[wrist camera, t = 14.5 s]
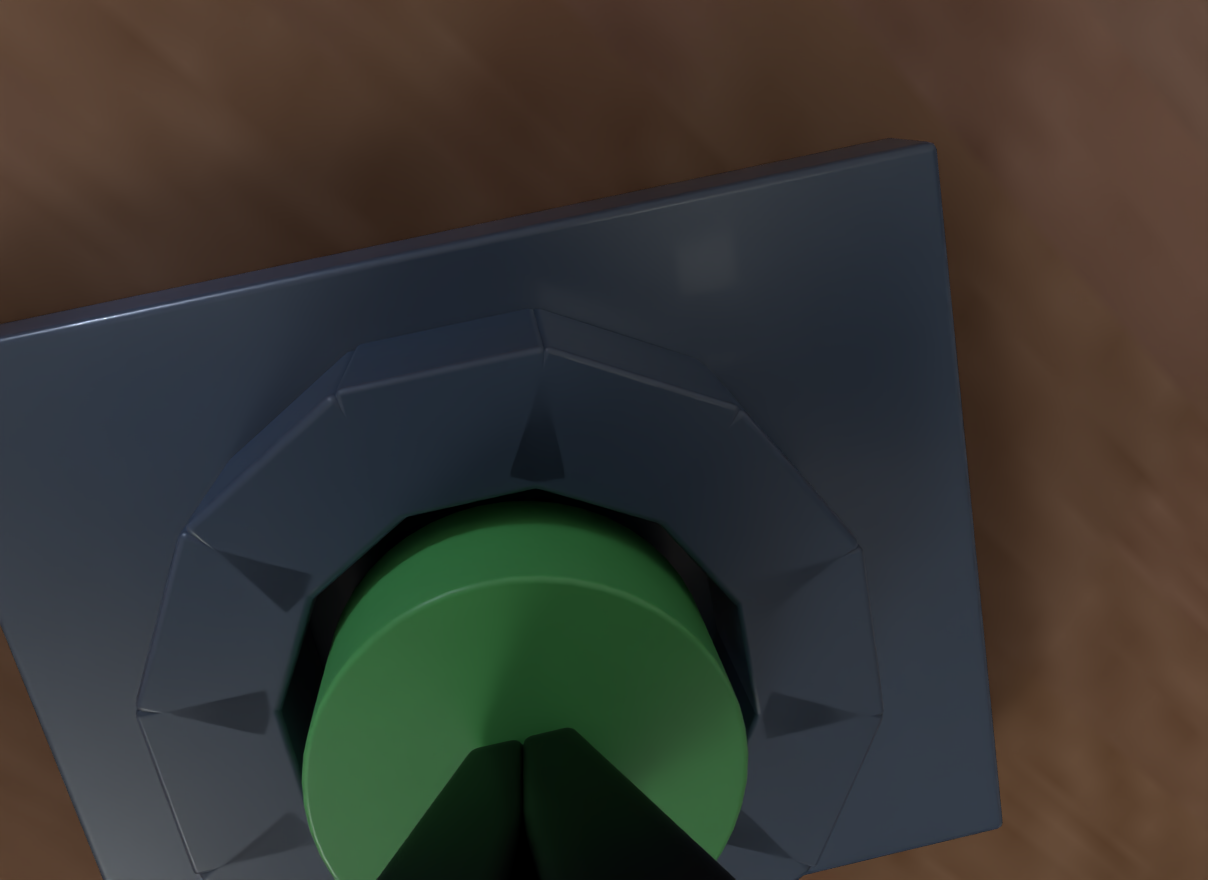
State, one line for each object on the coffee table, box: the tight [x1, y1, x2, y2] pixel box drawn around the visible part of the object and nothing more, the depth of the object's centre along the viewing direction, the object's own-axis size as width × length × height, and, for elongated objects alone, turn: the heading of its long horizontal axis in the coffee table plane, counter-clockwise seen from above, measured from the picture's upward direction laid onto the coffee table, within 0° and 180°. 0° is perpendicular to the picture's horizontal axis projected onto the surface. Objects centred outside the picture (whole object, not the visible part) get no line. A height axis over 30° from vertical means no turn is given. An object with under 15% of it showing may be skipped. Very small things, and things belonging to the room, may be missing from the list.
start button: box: [302, 501, 748, 880], centre depth 10 cm, size 4×4×2 cm
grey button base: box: [0, 138, 1002, 880], centre depth 11 cm, size 10×8×3 cm
